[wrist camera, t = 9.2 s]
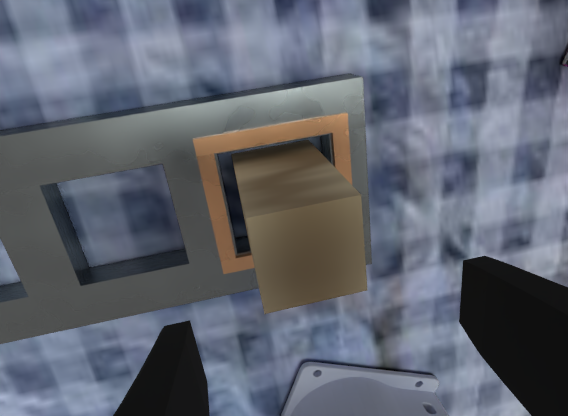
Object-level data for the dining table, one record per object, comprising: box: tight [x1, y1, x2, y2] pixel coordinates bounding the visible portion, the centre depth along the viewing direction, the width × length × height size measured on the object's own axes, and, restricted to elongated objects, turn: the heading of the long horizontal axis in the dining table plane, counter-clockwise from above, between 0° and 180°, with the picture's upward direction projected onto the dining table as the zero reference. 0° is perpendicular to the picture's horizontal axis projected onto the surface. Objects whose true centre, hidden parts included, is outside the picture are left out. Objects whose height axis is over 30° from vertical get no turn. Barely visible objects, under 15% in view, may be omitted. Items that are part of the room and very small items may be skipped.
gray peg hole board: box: [0, 74, 372, 344], centre depth 18 cm, size 22×9×2 cm, turn 98°
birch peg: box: [231, 140, 367, 314], centre depth 16 cm, size 4×4×7 cm
